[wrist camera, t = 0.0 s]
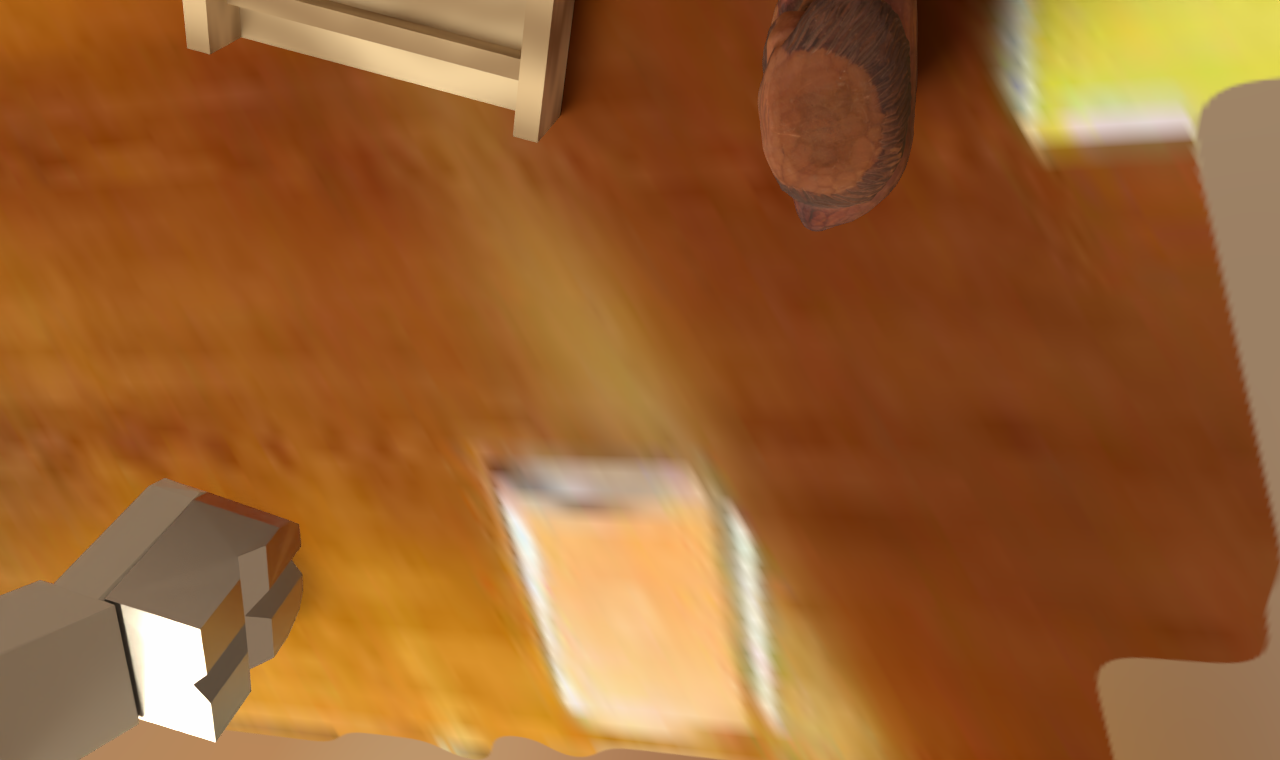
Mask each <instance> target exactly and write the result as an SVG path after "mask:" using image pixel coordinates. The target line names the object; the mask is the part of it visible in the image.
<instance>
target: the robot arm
mask: <svg viewBox="0 0 1280 760" xmlns="http://www.w3.org/2000/svg"><path fill="white" fill-rule="evenodd" d="M300 547H301V540H300V529H299V524H297V523H295V522H292V521H289V520H287V519H284V518H281V517H278V516H275V515H272V514H269V513H266V512H263V511H261V510H258V509H255V508H252V507H249V506H246V505H243V504H240V503H238V502H235V501H232V500H229V499H226V498H223V497H220V496H217V495H214V494H212V493H209V492H205V491H202V490H199V489H196V488H193V487H190V486H187V485H184V484H181V483H178V482H175V481H172V480H169V479H166V478H164V479H162V480H160V481H158V482H156V483H154V484H152V485H150V486H149V487H147V488H146V489H145V490H144V491H143V492H142V493H141V494H140V495H139V497H138V498H137V499H136V500H135V501H134V502H133V503H132V504H131V505H130V506H129V507H128V508H127V509H126V510H125V511H124V512H123V513H122V514H121V515H120V516H119V517H118V518H117V519H116V520H115V521H114V522H113V523H112V524H111V525H110V526H109V527H108V528H107V529H106V530H105V531H104V532H103V533H102V535H101V536H100V537H99V538H98V539H97V540H96V541H95V542H94V543H93V544H92V545H91V546H90V547H89V548H88V549H87V550H86V551H85V552H84V553H83V554H82V555H81V556H80V557H79V558H78V559H77V560H76V561H75V562H74V563H73V564H72V565H71V566H70V567H69V568H68V569H67V570H66V571H65V573H64V574H63V575H62V576H61V577H60V578H59V579H58V580H57V581H56V582H55V583H54V584H52V583H49V582H45V581H42V580H39V581H37V582H34V583H31V584H29V585H26V586H24V587H21V588H19V589H16V590H13V591H11V592H8V593H6V594H3V595H1V596H0V760H80V759H81V758H83V757H85V756H86V755H88V754H90V753H91V752H93V751H95V750H96V749H98V748H100V747H101V746H103V745H105V744H106V743H108V742H109V741H111V740H113V739H115V738H116V737H118V736H120V735H121V734H123V733H125V732H126V731H128V730H130V729H131V728H133V727H135V726H136V725H138V724H139V719H142V720H145V721H149V722H152V723H155V724H159V725H162V726H165V727H168V728H171V729H174V730H178V731H181V732H184V733H187V734H191V735H194V736H197V737H201V738H203V739H207V740H210V741H213V742H216V741H217V740H218V738H219V737H220V735H221V734H222V733H223V731H224V730H225V728H226V727H227V725H228V724H229V722H230V721H231V720H232V718H233V717H234V715H235V714H236V712H237V711H238V709H239V708H240V706H241V705H242V704H243V702H244V701H245V699H246V698H247V696H248V695H249V693H250V692H251V682H250V670H249V669H251V668H253V667H255V666H257V665H260V664H262V663H264V662H266V661H268V660H270V659H272V658H274V657H275V655H276V654H277V652H278V651H279V649H280V647H281V646H282V644H283V643H284V641H285V640H286V638H287V637H288V635H289V633H290V630H291V628H292V626H293V623H294V621H295V618H296V616H297V614H298V611H299V608H300V603H301V597H302V592H303V580H302V573H301V572H300V571H299V569H298V568H297V567H296V565H295V564H294V563H293V561H292V560H291V559H292V558H293V557H294V555H295V554H296V552H297V551H298V550H299V548H300Z"/></svg>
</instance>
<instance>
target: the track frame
mask: <svg viewBox="0 0 1280 760" xmlns="http://www.w3.org/2000/svg"><path fill="white" fill-rule="evenodd" d="M574 2H575V0H183V9H184V20H185V30H186V40H187V48H189V49H192V50H196V51H200V52H203V53H207V54H212V53H213V52H215V51H217V50H219V49H221V48H222V47H224V46H226V45H228V44H230V43H231V42H233V41H235V40H237V39H239V38H241V37H243V38H247V39H250V40H254V41H258V42H261V43H265V44H269V45H273V46H276V47H280V48H284V49H288V50H291V51H295V52H299V53H303V54H306V55H310V56H314V57H318V58H321V59H325V60H329V61H332V62H336V63H340V64H344V65H347V66H351V67H355V68H359V69H362V70H366V71H370V72H374V73H377V74H381V75H385V76H388V77H392V78H396V79H400V80H403V81H407V82H411V83H415V84H418V85H422V86H426V87H430V88H433V89H437V90H441V91H445V92H448V93H452V94H456V95H459V96H463V97H467V98H471V99H474V100H478V101H482V102H486V103H489V104H493V105H497V106H501V107H504V108H508V109H512V110H516V111H515V121H514V131H513V136H514V137H518V138H522V139H525V140H529V141H533V142H536V143H538V141H539V140H540V139H541V138H542V137H543V136H544V134H545V133H546V132H547V131H548V130H549V129H550V127H551V126H552V125H553V124H554V123H555V121H556V120H557V119H558V118H559V117H560V113H561V105H562V97H563V89H564V81H565V73H566V65H567V57H568V49H569V41H570V34H571V26H572V18H573V10H574Z"/></svg>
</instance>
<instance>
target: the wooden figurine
mask: <svg viewBox="0 0 1280 760" xmlns="http://www.w3.org/2000/svg"><path fill="white" fill-rule="evenodd" d="M917 41H918V12H917V0H778V3H777V5H776V7H775V11H774V15H773V19H772V24H771V27H770V29H769V31H768V36H767V40H766V43H765V47H764V52H763V73H764V75H763V79H762V82H761V84H760V89H759V93H758V109H759V118H760V127H761V134H762V143H763V150H764V153H765V156H766V159H767V161H768V163H769V165H770V167H771V170H772V172H773V174H774V176H775V178H776V180H777V182H778V183H779V185H780V187H781V189H782V190H783V191H784V192H786V193H788V194H789V196H791V197H792V198H794V204H795V208H796V211H797V213H798V216H799V217H800V219H801V221H802V223H803V225H804V226H805V227H806V228H808V229H809V230H812V231H823V230H826V229H829V228H831V227H834V226H838V225H841V224H844V223H848V222H851V221H854V220H855V219H857V218H859V217H860V216H862V215H864V214H866V213H868V212H869V211H870V210H871V209H872V208H873V207H875V206H876V205H877V204H878V203H880V202H881V201H882V200H883V199H884V198H885V197H886V196H888V195H889V193H890V192H891V191H892V189H893V188H894V187H895V186H896V184H897V183H898V181H899V180H900V178H901V176H902V174H903V172H904V170H905V168H906V165H907V162H908V159H909V155H910V150H911V146H912V141H913V135H914V117H915V103H916V90H917V77H918V69H917V60H918V59H917V57H918V51H917Z"/></svg>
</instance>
